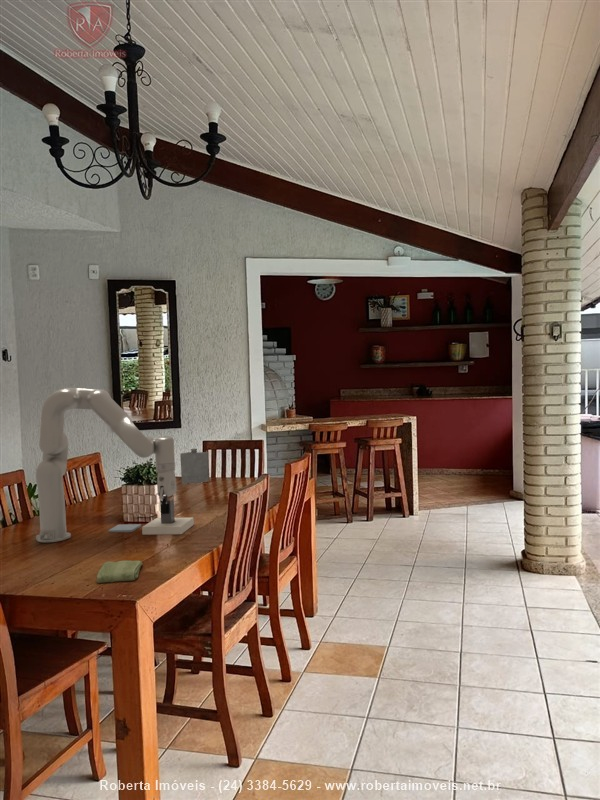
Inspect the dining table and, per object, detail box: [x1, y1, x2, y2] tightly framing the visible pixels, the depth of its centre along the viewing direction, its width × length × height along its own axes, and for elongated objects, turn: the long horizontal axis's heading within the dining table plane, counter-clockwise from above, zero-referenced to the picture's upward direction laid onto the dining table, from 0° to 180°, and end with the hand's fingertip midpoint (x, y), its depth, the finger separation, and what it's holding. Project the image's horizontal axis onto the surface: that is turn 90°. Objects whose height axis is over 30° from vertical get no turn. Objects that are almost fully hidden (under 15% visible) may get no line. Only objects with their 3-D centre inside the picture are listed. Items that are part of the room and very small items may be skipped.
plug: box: [159, 495, 176, 524], centre depth 268 cm, size 4×4×11 cm
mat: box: [107, 523, 142, 533], centre depth 272 cm, size 10×10×1 cm
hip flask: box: [179, 448, 211, 485], centre depth 380 cm, size 16×4×20 cm, turn 92°
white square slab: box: [141, 517, 195, 536], centre depth 268 cm, size 16×16×3 cm
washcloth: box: [96, 560, 144, 584], centre depth 210 cm, size 13×18×3 cm
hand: (167, 511), depth 268 cm, fingers closed on plug, 4 cm apart
